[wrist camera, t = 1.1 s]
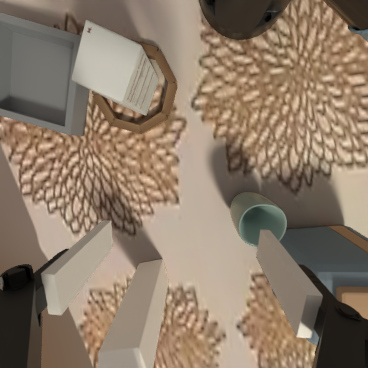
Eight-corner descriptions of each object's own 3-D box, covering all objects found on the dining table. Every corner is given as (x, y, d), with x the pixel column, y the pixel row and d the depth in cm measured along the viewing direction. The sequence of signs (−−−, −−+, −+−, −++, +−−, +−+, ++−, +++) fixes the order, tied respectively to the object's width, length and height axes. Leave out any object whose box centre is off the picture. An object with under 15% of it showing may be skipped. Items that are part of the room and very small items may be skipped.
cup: (228, 186, 37) (241, 201, 28) (266, 188, 37) (292, 204, 27) (224, 220, 39) (235, 246, 30) (260, 223, 39) (283, 250, 29)
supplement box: (112, 101, 35) (67, 79, 23) (124, 62, 33) (84, 15, 21) (146, 117, 35) (121, 104, 23) (161, 79, 34) (142, 43, 21)
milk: (139, 262, 43) (83, 381, 21) (163, 258, 42) (130, 376, 21) (146, 284, 44) (99, 417, 23) (169, 280, 43) (145, 413, 22)
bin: (10, 24, 33) (-15, 8, 29) (95, 48, 33) (82, 35, 29) (6, 114, 37) (-16, 111, 33) (83, 135, 37) (70, 135, 33)
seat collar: (104, 35, 32) (100, 30, 31) (184, 58, 33) (183, 54, 31) (92, 119, 36) (88, 119, 34) (164, 140, 36) (163, 140, 35)
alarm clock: (340, 286, 41) (428, 371, 26) (268, 289, 43) (310, 373, 27) (346, 220, 38) (452, 274, 22) (267, 227, 39) (315, 282, 24)
